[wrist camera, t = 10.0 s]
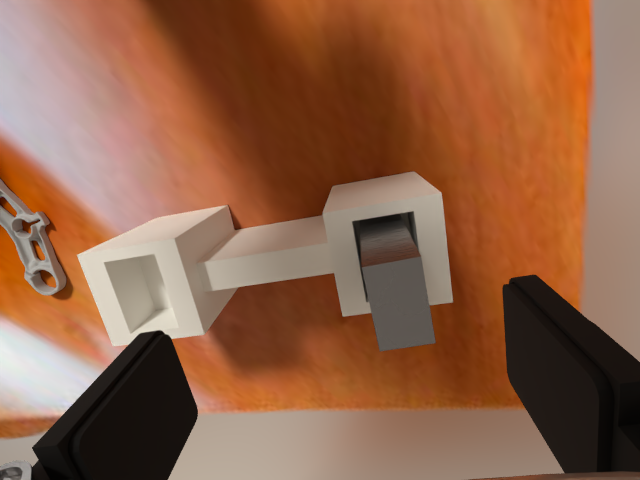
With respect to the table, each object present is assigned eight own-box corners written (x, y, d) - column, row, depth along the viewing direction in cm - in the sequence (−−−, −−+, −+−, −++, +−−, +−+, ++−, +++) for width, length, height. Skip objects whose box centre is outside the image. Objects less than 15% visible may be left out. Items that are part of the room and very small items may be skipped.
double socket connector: (157, 217, 40) (76, 255, 28) (414, 171, 36) (441, 192, 24) (179, 285, 42) (113, 346, 30) (423, 249, 38) (453, 302, 27)
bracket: (8, 300, 43) (-50, 170, 38) (22, 293, 45) (-32, 168, 40) (67, 293, 42) (14, 159, 37) (79, 286, 44) (30, 157, 39)
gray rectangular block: (359, 216, 29) (361, 267, 19) (397, 209, 29) (421, 256, 19) (371, 274, 31) (379, 351, 20) (407, 267, 30) (435, 343, 20)
